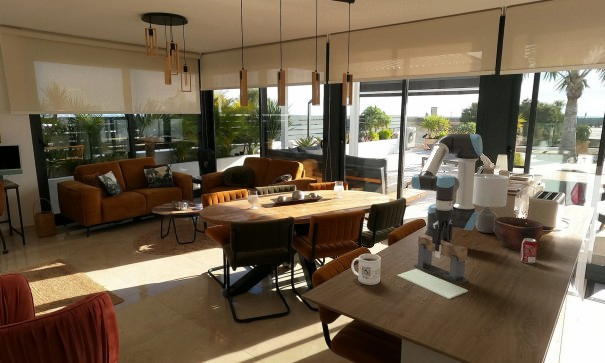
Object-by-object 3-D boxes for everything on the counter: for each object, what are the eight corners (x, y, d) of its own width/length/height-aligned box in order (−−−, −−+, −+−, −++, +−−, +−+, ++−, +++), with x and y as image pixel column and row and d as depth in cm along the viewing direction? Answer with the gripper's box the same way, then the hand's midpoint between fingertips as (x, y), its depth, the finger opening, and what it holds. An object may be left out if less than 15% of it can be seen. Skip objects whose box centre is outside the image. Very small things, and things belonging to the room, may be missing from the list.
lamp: (464, 226, 260) (468, 173, 254) (496, 227, 257) (501, 174, 251) (473, 235, 240) (478, 178, 233) (508, 237, 237) (514, 179, 231)
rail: (418, 246, 189) (418, 235, 188) (423, 245, 191) (423, 234, 191) (461, 261, 170) (462, 249, 169) (466, 259, 172) (467, 248, 171)
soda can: (537, 264, 192) (539, 242, 190) (522, 263, 194) (525, 241, 192) (532, 260, 199) (534, 238, 197) (518, 259, 200) (520, 237, 198)
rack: (414, 266, 190) (415, 243, 188) (423, 263, 194) (424, 240, 192) (458, 284, 170) (460, 258, 168) (467, 280, 174) (469, 255, 172)
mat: (397, 276, 179) (397, 274, 179) (415, 269, 186) (415, 268, 186) (448, 299, 156) (449, 298, 156) (467, 291, 163) (467, 290, 163)
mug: (365, 286, 167) (366, 263, 166) (350, 276, 178) (350, 254, 176) (384, 282, 172) (385, 259, 170) (368, 272, 183) (368, 250, 181)
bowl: (535, 242, 227) (537, 217, 225) (546, 256, 204) (549, 229, 202) (489, 237, 235) (491, 214, 233) (494, 251, 212) (497, 224, 210)
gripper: (439, 212, 169) (436, 262, 173) (462, 207, 178) (458, 255, 182) (425, 209, 175) (422, 257, 179) (448, 204, 185) (445, 250, 189)
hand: (440, 256), depth 181 cm, fingers closed on rail, 4 cm apart
